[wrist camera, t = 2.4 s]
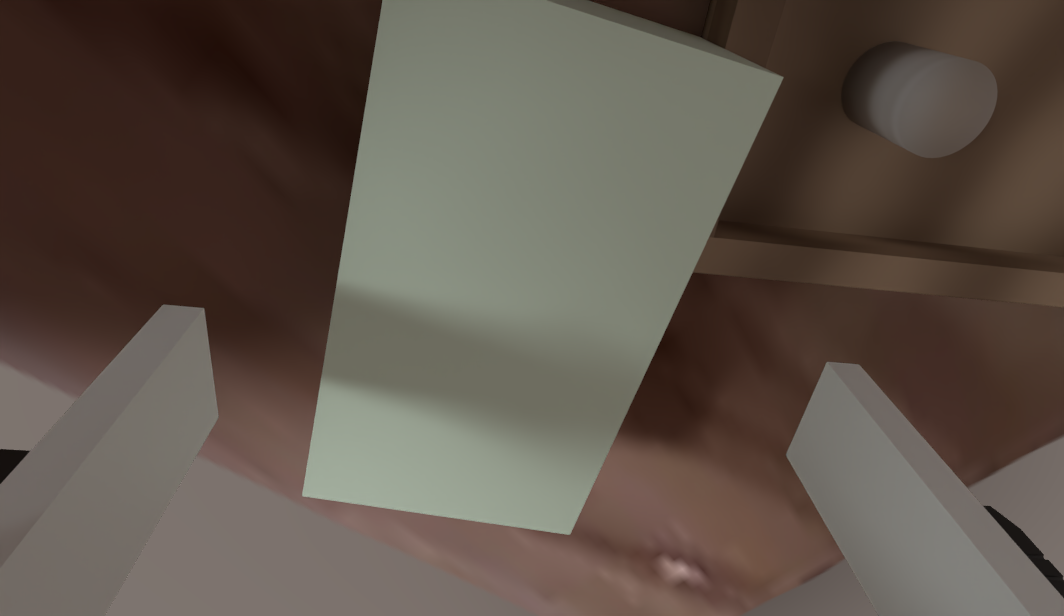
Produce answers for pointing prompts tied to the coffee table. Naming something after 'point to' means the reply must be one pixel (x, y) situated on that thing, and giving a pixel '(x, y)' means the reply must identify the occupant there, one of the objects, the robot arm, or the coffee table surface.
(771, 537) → the coffee table surface
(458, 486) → the grey boxy block
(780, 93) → the peg frame
